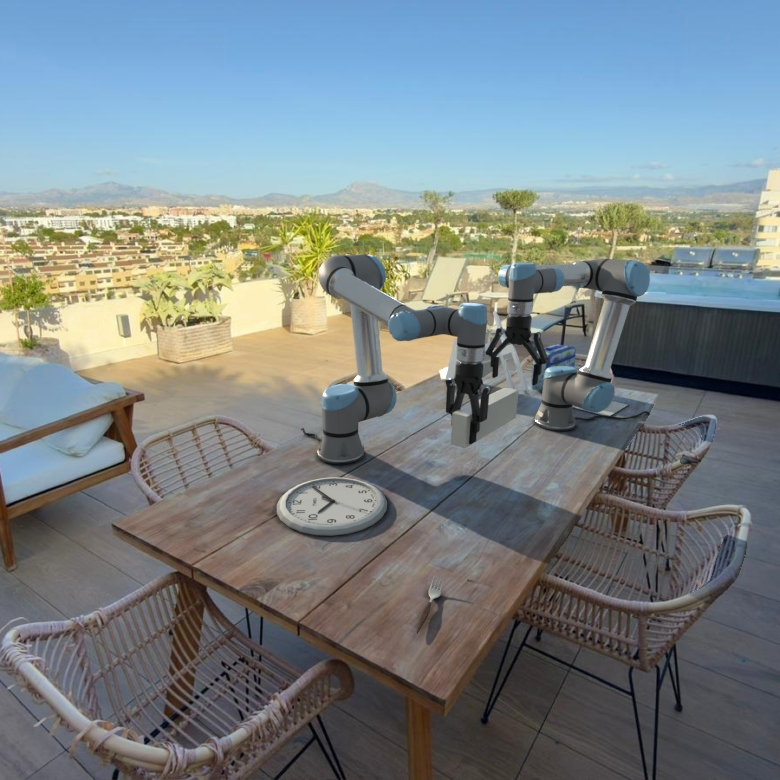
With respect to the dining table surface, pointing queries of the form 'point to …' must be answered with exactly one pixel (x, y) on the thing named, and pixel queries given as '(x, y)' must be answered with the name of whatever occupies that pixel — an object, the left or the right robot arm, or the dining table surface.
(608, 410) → the invitation card
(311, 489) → the wall clock
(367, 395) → the left robot arm
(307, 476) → the dining table surface
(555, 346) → the lunch box
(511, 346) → the white plastic object
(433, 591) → the fork
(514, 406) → the bar
